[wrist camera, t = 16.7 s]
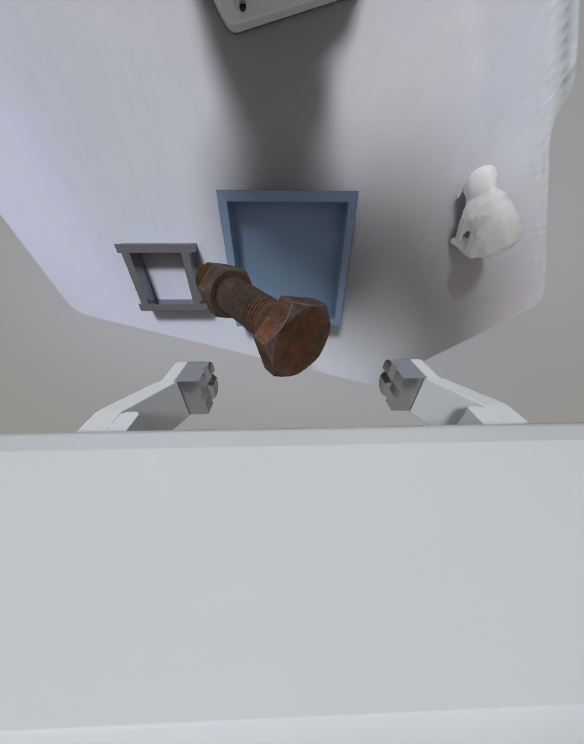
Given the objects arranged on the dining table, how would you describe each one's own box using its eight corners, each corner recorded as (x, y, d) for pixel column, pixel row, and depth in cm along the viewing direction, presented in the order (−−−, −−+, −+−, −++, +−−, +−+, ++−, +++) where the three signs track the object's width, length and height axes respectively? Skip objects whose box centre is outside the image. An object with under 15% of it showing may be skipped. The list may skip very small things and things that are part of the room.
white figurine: (485, 264, 32) (483, 167, 26) (449, 262, 39) (442, 186, 34) (534, 242, 30) (542, 136, 25) (487, 244, 38) (485, 162, 32)
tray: (350, 195, 33) (358, 191, 30) (335, 317, 45) (339, 325, 41) (224, 194, 33) (216, 189, 29) (241, 317, 44) (237, 325, 41)
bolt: (236, 256, 23) (343, 306, 14) (230, 303, 25) (319, 368, 17) (177, 244, 19) (277, 303, 10) (178, 300, 21) (259, 384, 13)
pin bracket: (196, 243, 37) (189, 244, 34) (209, 305, 43) (205, 310, 40) (125, 243, 36) (114, 244, 34) (149, 305, 42) (141, 310, 40)
